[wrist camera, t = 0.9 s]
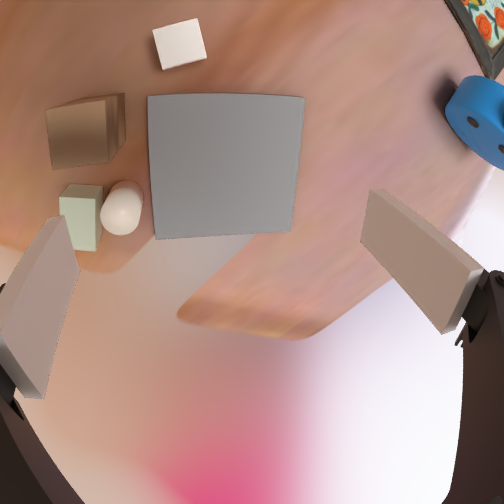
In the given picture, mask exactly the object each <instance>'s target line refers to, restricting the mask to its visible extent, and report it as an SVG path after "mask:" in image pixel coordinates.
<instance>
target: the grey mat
mask: <svg viewBox="0 0 504 504" xmlns="http://www.w3.org/2000/svg"><path fill="white" fill-rule="evenodd" d="M304 106H305V98H304V97H296V96H284V95H269V94H247V93H186V94H164V95H150V96H148V139H149V161H150V178H151V193H152V205H153V217H154V227H155V237H156V240H161V239H175V238H190V237H205V236H221V235H238V234H255V233H272V232H291V226H292V218H293V210H294V201H295V193H296V184H297V175H298V166H299V157H300V147H301V137H302V127H303V117H304Z"/></svg>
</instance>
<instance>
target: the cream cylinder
mask: <svg viewBox="0 0 504 504" xmlns="http://www.w3.org/2000/svg"><path fill="white" fill-rule="evenodd" d="M143 201H144V195H143V191H142V189H141V188H140V186H139V185H138V184H136V183H134V182H132V181H127V180H125V181H120V182H118V183H116V184H115V185H114V186H113V187H112V188H111V190H110V192H109V194H108V196H107V198H106V200H105V202H104V205H103V207H102V209H101V212H100V219H101V223H102V225H103V226H104V228H105V229H106V230H107V231H109V232H110V233H112V234H115V235H126V234H129V233H131V232H132V231H134V230H135V228H136V227H137V225H138V223H139V219H140V214H141V210H142V205H143Z"/></svg>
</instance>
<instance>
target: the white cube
mask: <svg viewBox="0 0 504 504" xmlns="http://www.w3.org/2000/svg"><path fill="white" fill-rule="evenodd" d="M152 31H153V35H154V39H155V43H156V47H157V50H158V54H159V58H160V62H161V66H162V69H163V70H168V69H171V68H174V67H178V66H181V65H185V64H189V63H193V62H196V61H200V60H204V59H205V58H207V55H206V51H205V47H204V43H203V39H202V35H201V31H200V27H199V23H198V19H197V18H195V19H191V20H187V21H183V22H179V23H176V24H172V25H168V26H165V27H161V28H158V29H155V30H152Z"/></svg>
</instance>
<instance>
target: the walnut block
mask: <svg viewBox="0 0 504 504" xmlns="http://www.w3.org/2000/svg"><path fill="white" fill-rule="evenodd" d="M46 119H47V130H48V140H49V149H50V157H51V164H52V170H58V169H65V168H72V167H80V166H88V165H96V164H105V163H109V162H110V161H111V159H112V158H113V157H114V155H115V154H116V152H117V151H118V150H119V148H120V147H121V146H122V144H123V143H124V142H125V140H126V131H125V102H124V93H120V94H112V95H104V96H97V97H90V98H83V99H78V100H75V101H71V102H68V103H65V104H62V105H59V106H56V107H53V108H50V109H47V110H46Z"/></svg>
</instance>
